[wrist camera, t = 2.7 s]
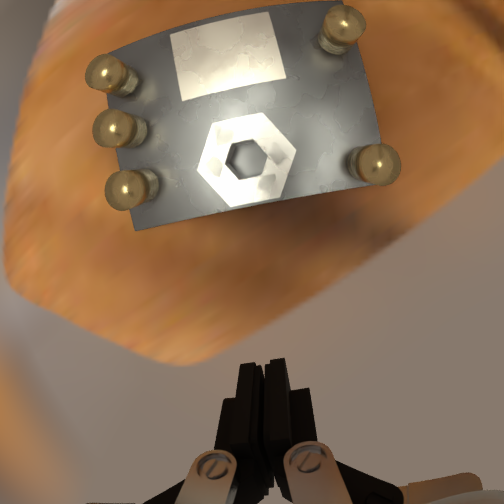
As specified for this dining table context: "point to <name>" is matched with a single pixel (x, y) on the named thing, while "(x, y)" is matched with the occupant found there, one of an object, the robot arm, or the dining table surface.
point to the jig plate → (239, 107)
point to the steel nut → (221, 152)
